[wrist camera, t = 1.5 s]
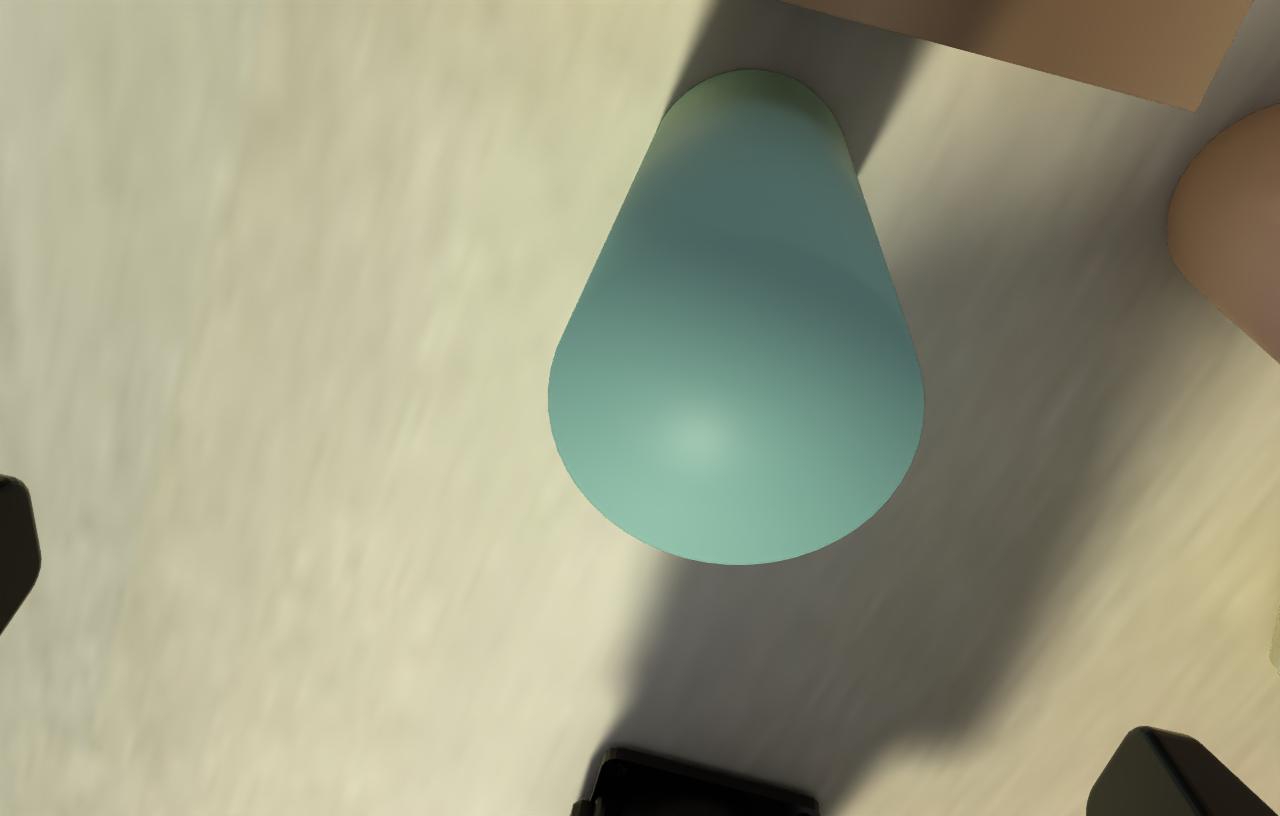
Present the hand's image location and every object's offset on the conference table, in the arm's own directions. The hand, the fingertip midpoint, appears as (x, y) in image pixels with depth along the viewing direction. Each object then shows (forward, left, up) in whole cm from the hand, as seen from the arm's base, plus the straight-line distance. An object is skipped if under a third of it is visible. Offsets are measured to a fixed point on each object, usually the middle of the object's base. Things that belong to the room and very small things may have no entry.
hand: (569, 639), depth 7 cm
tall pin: (-1, -1, -13) cm, 13 cm away
